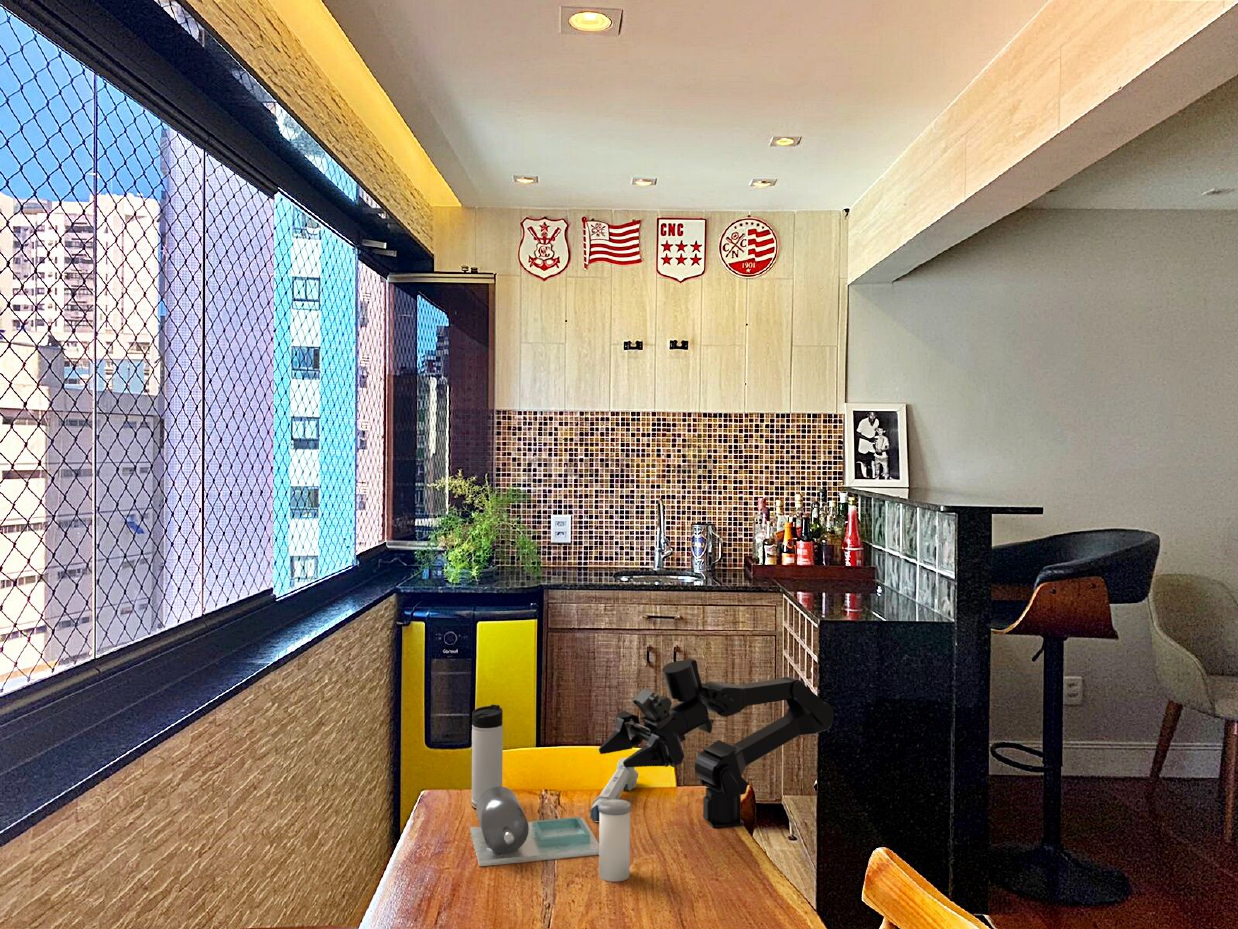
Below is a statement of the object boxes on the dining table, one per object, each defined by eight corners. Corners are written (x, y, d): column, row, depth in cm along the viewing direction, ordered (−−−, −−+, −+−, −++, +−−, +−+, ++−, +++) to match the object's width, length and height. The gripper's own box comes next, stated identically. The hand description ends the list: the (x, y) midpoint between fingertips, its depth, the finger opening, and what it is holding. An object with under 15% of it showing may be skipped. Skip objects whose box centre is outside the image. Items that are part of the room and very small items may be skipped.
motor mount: (582, 822, 186) (583, 776, 186) (604, 858, 169) (604, 808, 169) (469, 832, 181) (470, 785, 181) (480, 871, 163) (480, 819, 163)
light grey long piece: (586, 803, 186) (617, 750, 211) (587, 835, 187) (617, 778, 211) (611, 806, 185) (640, 751, 209) (612, 838, 186) (640, 780, 210)
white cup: (625, 867, 166) (626, 797, 166) (634, 880, 160) (634, 809, 160) (594, 870, 164) (595, 800, 164) (602, 883, 159) (602, 811, 159)
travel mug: (508, 802, 197) (509, 706, 197) (491, 813, 191) (492, 713, 191) (483, 798, 200) (483, 703, 200) (465, 808, 194) (466, 710, 194)
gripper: (642, 673, 189) (576, 707, 182) (695, 692, 173) (624, 730, 166) (657, 723, 191) (592, 759, 184) (711, 747, 175) (642, 788, 167)
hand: (611, 758), depth 175 cm, fingers open, 9 cm apart
